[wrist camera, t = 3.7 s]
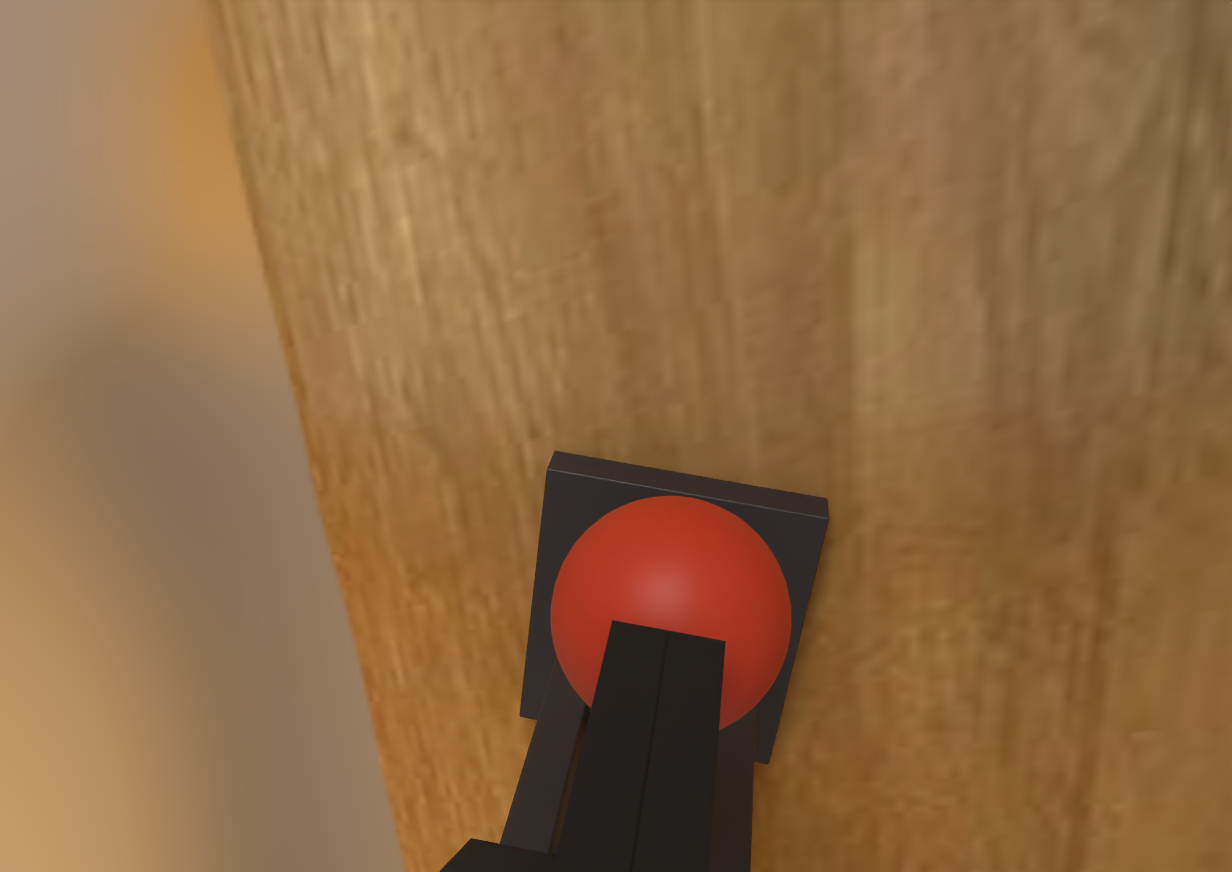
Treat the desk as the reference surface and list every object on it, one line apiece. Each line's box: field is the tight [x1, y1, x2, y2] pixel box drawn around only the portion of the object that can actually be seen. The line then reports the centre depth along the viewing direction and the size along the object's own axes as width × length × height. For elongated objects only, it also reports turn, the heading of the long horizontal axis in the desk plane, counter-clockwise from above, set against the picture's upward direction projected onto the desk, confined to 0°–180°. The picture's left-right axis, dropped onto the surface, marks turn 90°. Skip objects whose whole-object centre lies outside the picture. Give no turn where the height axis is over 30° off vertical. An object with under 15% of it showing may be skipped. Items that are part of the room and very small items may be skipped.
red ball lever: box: [551, 496, 791, 730], centre depth 20 cm, size 13×4×4 cm, turn 175°
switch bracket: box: [500, 451, 829, 872], centre depth 28 cm, size 9×8×14 cm
